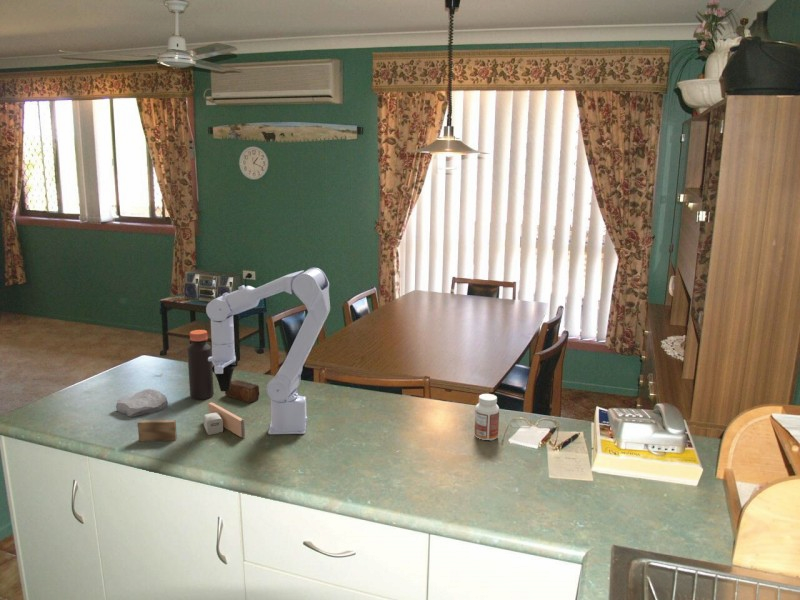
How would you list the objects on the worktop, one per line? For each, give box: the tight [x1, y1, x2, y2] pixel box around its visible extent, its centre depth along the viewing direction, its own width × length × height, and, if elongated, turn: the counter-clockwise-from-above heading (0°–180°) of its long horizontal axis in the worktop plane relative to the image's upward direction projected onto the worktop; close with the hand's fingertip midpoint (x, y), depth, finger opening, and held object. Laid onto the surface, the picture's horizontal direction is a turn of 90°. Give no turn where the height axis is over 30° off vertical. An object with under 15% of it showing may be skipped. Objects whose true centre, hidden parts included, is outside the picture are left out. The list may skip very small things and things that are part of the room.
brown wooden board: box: [137, 419, 178, 442], centre depth 157 cm, size 9×1×5 cm, turn 95°
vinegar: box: [186, 329, 215, 400], centre depth 185 cm, size 7×7×20 cm
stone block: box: [115, 388, 169, 417], centre depth 177 cm, size 12×5×10 cm
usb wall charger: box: [203, 412, 224, 435], centre depth 165 cm, size 4×7×4 cm, turn 28°
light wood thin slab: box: [208, 401, 246, 438], centre depth 164 cm, size 17×1×5 cm, turn 46°
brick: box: [224, 379, 260, 404], centre depth 186 cm, size 11×4×5 cm, turn 58°
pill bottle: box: [474, 393, 500, 441], centre depth 162 cm, size 6×6×11 cm
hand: (225, 390), depth 166 cm, fingers closed
